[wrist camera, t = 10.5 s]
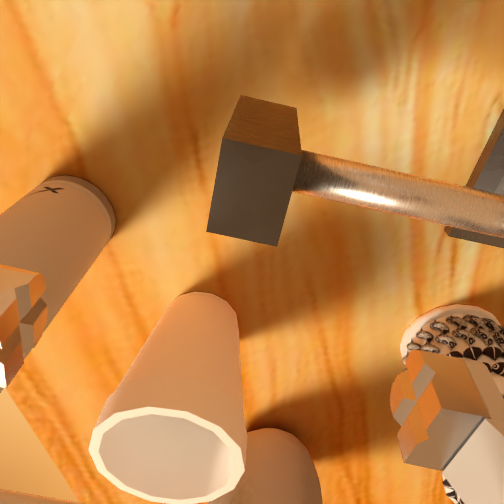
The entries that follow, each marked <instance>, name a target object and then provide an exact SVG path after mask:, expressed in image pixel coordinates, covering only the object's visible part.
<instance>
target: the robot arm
mask: <svg viewBox="0 0 504 504" xmlns="http://www.w3.org/2000/svg"><path fill="white" fill-rule="evenodd" d="M45 290H46V283H45V276H43V275H42V274H41V273H37V272H33V271H28V270H24V269H20V268H15V267H11V266H6V265H2V264H0V387H4V388H7V387H8V385H9V384H10V382H11V381H12V379H13V378H14V377H15V375H16V374H17V372H18V371H19V369H20V368H21V366H22V365H23V364H24V359H23V353H24V352H26V351H28V350H30V349H32V348H34V347H35V346H36V344H37V343H38V341H39V340H40V338H41V336H42V334H43V331H44V329H45V326H46V322H47V315H48V310H47V304H46V303H45V302H44V300H43V299H42V298H41V295H42V294H43V293H44V291H45ZM405 363H406V366H407V370H405V371H403V372H402V373H400V374H398V375H397V376H396V378H395V380H394V382H393V384H392V388H391V393H390V408H391V412H392V416H393V418H394V419H395V420H396V421H397V422H398V423H399V424H400V426H401V428H400V430H399V432H398V433H397V437H398V441H399V445H400V449H401V453H402V457H403V461H404V463H407V464H412V465H417V466H421V467H426V468H430V469H435V470H440V471H443V472H442V474H443V475H444V477H445V478H446V479H447V481H448V482H449V483H450V485H451V486H452V487H453V489H454V490H455V491H456V493H457V494H458V496H459V497H460V498H461V500H462V501H463V502H464V504H504V398H503V396H502V395H501V393H500V391H499V389H498V387H497V385H496V383H495V381H494V379H493V377H492V375H491V374H490V372H489V370H488V368H487V366H486V365H485V364H484V363H482V362H481V361H476V360H470V359H465V358H456V357H452V356H447V355H442V354H437V353H431V352H426V351H421V350H416V349H414V350H413V351H412V352H411V353H409V355H408V357H407V359H406V360H405ZM0 504H84V503H78V502H72V501H67V500H60V499H55V498H49V497H43V496H38V495H32V494H27V493H21V492H15V491H10V490H4V489H0Z"/></svg>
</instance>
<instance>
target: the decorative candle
mask: <svg viewBox="0 0 504 504" xmlns="http://www.w3.org/2000/svg"><path fill="white" fill-rule="evenodd" d="M414 349H416V350H421V351H426V352H431V353H437V354H442V355H447V356H452V357H456V358H465V359H470V360H476V361H481V362H482V363H484V364H485V365H486V366H487V368H488V370H489V372H490V374H491V375H492V377H493V379H494V381H495V383H496V385H497V387H498V389H499V391H500V393H501V395H502V396H503V398H504V327H502V325H501V324H500V323H499V321H498V320H497V318H496V317H495V316H494V314H492V313H490V312H488V311H486V310H484V309H482V308H480V307H478V306H472V305H462V304H454V305H449V306H444V307H439V308H435V309H433V310H431V311H429V312H427V313H425V314H423V315H422V316H420V317H418V318H416V319H415V321H414V322H413V323H412V324H411V325H410V326H409V327H408V328H407V329H406V330H405V331H404V334H403V337H402V340H401V343H400V351H401V356H402V360H403V363H404V364H405V365H406V363H405V360H406V359H407V357H408V355H409V353H411V352H412V351H413V350H414ZM405 370H407V368H406V369H405ZM443 484H444V487H445V491H446V495H447V496H448V497H449V498H450V499H451V500H452V501H453V502H454V503H455V504H464V502H463V501H462V500H461V498H460V497H459V496H458V494H457V493H456V491H455V490H454V489H453V487H452V486H451V485H450V483H449V482H448V481H447V479H446V478H445V477H444V475H443Z"/></svg>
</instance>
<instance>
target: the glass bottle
mask: <svg viewBox="0 0 504 504" xmlns="http://www.w3.org/2000/svg"><path fill="white" fill-rule="evenodd" d="M247 436H248V438H247V450H246V462H245V471H244V473H243V474H242V476H241V478H240V480H239V481H238V483H237V485H236V486H235V488H234V489H233V490H231V491H229V492H228V493H226V494H224V495H222V496H220V497H218V498H216V499H214V500H213V501H209V503H208V504H322V495H321V488H320V482H319V478H318V475H317V472H316V469H315V466H314V463H313V461H312V458H311V456H310V454H309V452H308V450H307V449H306V447H305V446H304V445H303V444H302V443H301V442H300V441H299V440H298V439H297V438H296V437H295V436H294V435H292V434H291V433H288V432H286V431H283V430H280V429H276V428H262V429H258V430H254V431H250V432H247Z"/></svg>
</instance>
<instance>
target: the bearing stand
mask: <svg viewBox="0 0 504 504" xmlns="http://www.w3.org/2000/svg"><path fill="white" fill-rule="evenodd" d="M465 187H470V188H474V189H479V190H483V191H488V192H492V193H497V194H501V195H504V109H503V112H502V114H501V116H500V118H499V120H498V122H497V124H496V126H495V128H494V130H493V132H492V134H491V136H490V138H489V140H488V142H487V144H486V146H485V148H484V150H483V152H482V154H481V156H480V158H479V160H478V162H477V164H476V166H475V168H474V170H473V172H472V174H471V176H470V178H469V180H468V182H467V184H466V186H465ZM444 230H445V232H446V233H447V234H448V236H450V237H455V238H459V239H464V240H469V241H473V242H478V243H482V244H487V245H492V246H496V247H501V248H504V238H501V237H496V236H492V235H487V234H483V233H478V232H473V231H469V230H464V229H460V228H455V227H451V226H446V227H445V229H444Z"/></svg>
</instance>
